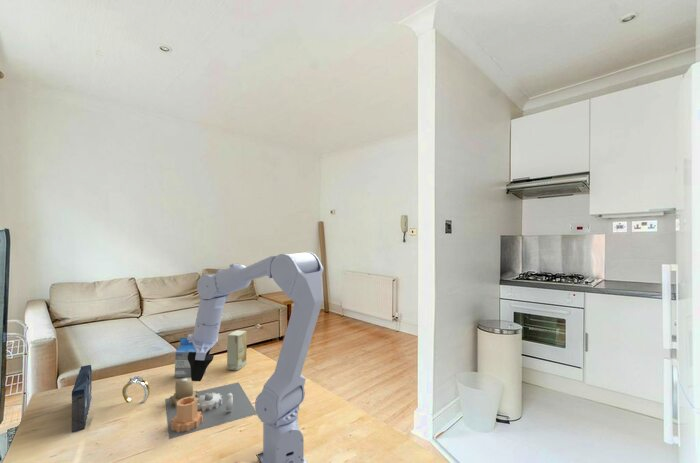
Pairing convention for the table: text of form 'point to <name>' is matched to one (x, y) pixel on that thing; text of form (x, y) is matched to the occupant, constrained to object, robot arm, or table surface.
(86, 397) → the vhs cassette tape
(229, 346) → the skincare box
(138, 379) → the ring
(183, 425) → the planet gear
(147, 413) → the table surface
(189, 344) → the label tape box
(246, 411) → the carrier board
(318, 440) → the table surface
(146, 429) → the table surface
